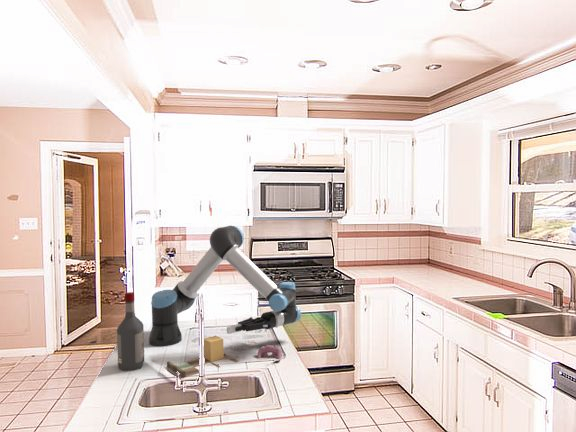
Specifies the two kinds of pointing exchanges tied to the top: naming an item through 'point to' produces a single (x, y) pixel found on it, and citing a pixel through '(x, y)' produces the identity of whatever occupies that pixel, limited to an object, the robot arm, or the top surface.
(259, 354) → the pink arch block
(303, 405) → the top surface
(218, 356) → the ochre block
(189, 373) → the trap box
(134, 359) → the liquor
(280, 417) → the top surface
